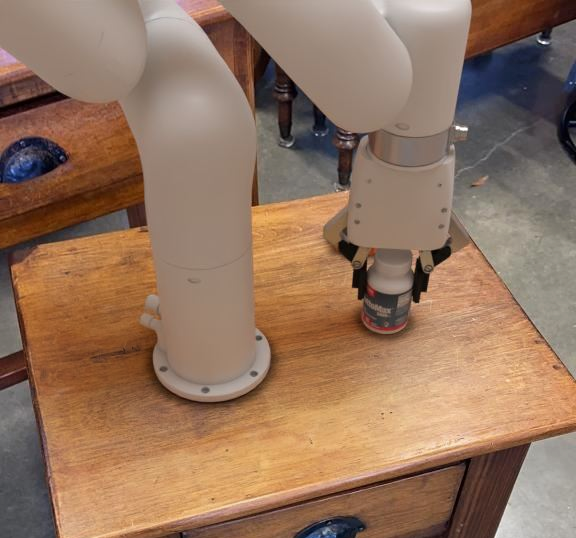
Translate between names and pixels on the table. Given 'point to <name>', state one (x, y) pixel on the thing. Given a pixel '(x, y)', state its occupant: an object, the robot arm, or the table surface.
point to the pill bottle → (388, 291)
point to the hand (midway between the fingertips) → (388, 292)
